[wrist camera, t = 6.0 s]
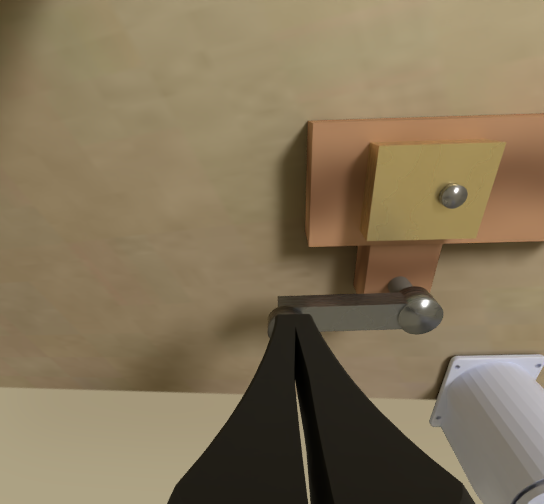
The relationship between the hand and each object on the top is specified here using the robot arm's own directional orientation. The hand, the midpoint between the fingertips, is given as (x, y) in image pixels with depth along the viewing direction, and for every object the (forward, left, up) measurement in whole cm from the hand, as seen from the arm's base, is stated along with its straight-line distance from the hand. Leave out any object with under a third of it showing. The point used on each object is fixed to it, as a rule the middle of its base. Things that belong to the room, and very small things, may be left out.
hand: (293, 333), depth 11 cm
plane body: (+1, -10, -10) cm, 14 cm away
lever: (-3, -4, -6) cm, 7 cm away
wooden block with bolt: (+4, -7, -7) cm, 11 cm away
